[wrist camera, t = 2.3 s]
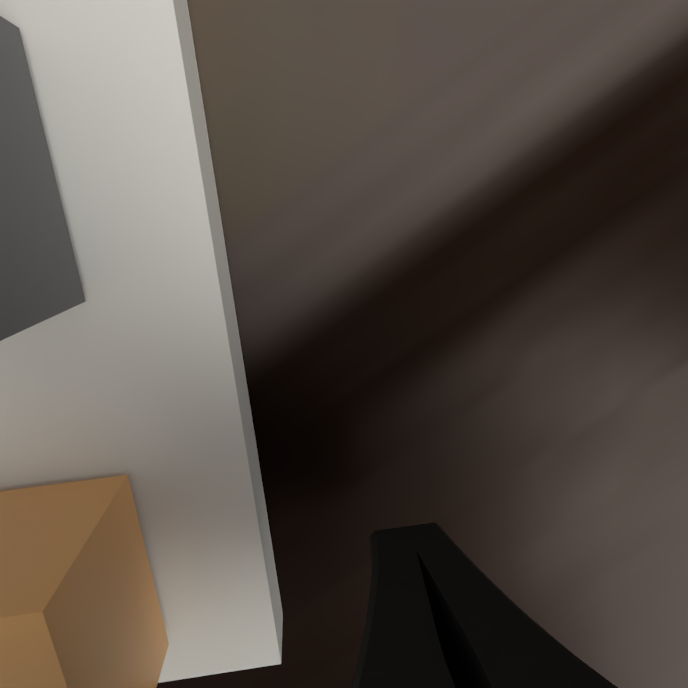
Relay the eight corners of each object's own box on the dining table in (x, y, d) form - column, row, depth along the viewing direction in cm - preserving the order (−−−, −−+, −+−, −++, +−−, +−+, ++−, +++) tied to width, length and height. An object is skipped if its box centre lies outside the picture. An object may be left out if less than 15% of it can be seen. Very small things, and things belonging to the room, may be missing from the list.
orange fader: (168, 644, 11) (114, 831, 8) (24, 665, 11) (-96, 868, 8) (127, 475, 10) (42, 611, 7) (-36, 496, 10) (-210, 648, 6)
